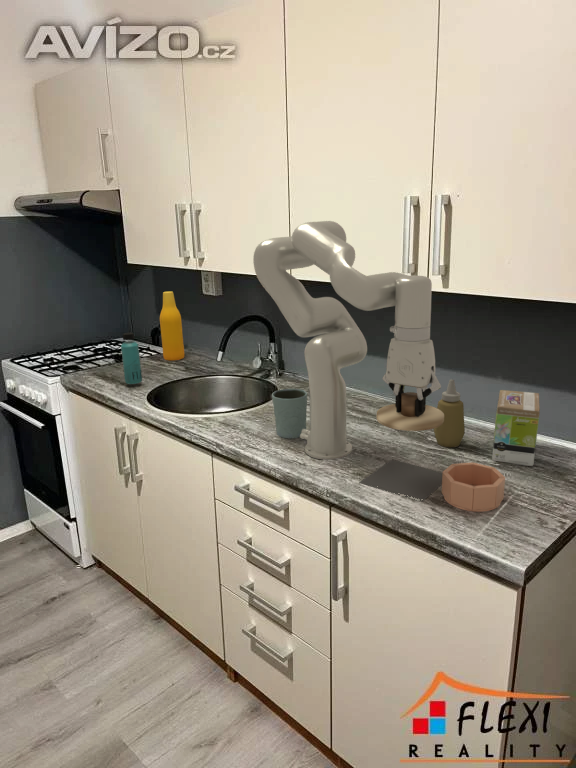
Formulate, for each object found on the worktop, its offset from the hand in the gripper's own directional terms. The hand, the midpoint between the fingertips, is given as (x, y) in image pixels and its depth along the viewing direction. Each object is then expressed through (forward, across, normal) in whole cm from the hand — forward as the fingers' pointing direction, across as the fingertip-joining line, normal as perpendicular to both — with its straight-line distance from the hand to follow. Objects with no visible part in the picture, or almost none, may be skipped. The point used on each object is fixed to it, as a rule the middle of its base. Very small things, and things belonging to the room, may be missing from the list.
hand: (410, 412), depth 133 cm
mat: (+17, -1, 0) cm, 17 cm away
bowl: (+17, +15, 0) cm, 23 cm away
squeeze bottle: (+17, -2, +26) cm, 31 cm away
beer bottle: (+17, -139, +48) cm, 148 cm away
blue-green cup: (+17, -42, +8) cm, 46 cm away
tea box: (+18, +14, +30) cm, 38 cm away
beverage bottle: (+17, -120, +12) cm, 122 cm away
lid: (+2, 0, 0) cm, 2 cm away
